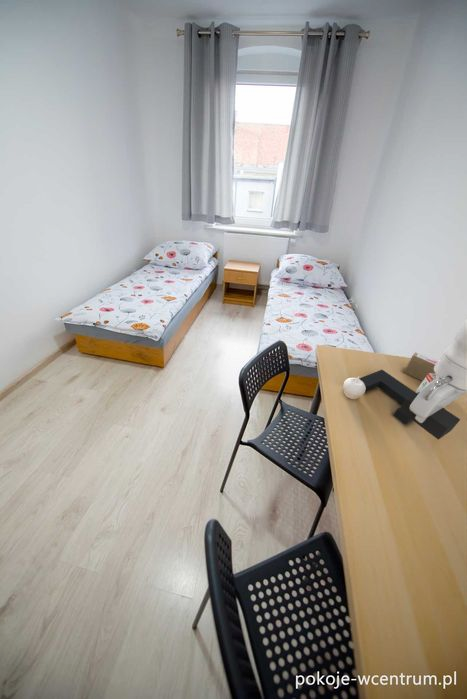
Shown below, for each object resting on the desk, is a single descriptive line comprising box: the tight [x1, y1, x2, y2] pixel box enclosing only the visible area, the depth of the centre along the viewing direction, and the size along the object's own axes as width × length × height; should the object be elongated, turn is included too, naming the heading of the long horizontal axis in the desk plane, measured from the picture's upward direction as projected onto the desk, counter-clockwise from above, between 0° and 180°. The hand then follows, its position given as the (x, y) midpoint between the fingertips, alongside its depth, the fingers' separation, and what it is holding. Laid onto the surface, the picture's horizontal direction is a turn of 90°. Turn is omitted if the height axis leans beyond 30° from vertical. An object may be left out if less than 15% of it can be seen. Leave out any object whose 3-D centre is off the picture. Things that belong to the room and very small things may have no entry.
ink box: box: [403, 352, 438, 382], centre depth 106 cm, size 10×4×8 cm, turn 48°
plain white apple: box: [342, 375, 366, 400], centre depth 93 cm, size 7×7×8 cm
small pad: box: [399, 392, 461, 441], centre depth 67 cm, size 10×6×4 cm, turn 31°
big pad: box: [359, 369, 416, 426], centre depth 96 cm, size 20×14×3 cm
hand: (427, 415), depth 67 cm, fingers closed on small pad, 6 cm apart
